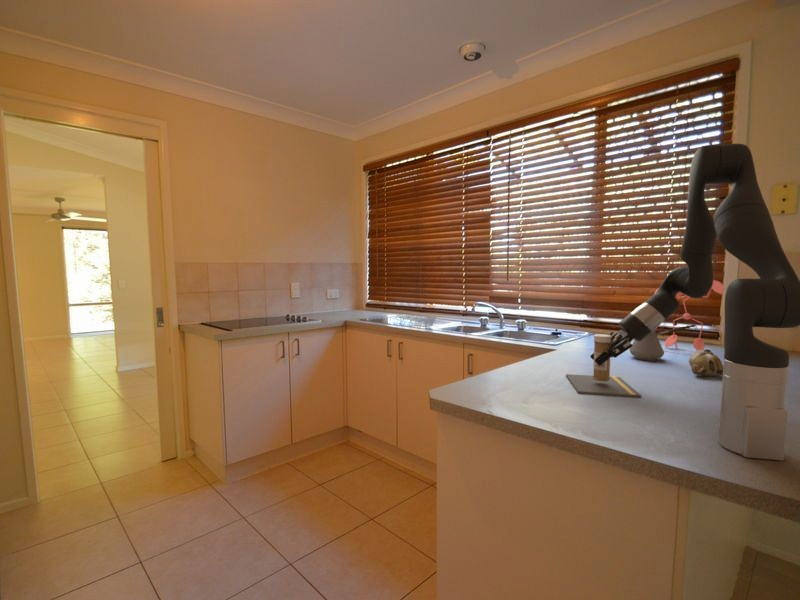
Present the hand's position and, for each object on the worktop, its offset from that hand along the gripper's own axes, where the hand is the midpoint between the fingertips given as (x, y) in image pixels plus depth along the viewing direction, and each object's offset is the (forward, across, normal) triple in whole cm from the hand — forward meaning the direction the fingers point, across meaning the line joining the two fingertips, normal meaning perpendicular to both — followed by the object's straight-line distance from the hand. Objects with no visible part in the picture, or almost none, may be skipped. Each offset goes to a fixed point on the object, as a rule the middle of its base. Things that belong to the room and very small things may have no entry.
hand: (594, 360), depth 117 cm
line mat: (+4, 0, +6) cm, 8 cm away
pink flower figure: (-28, -59, +39) cm, 76 cm away
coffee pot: (-18, -39, +29) cm, 51 cm away
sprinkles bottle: (+3, 0, +5) cm, 6 cm away
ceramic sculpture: (-22, -21, +34) cm, 45 cm away
